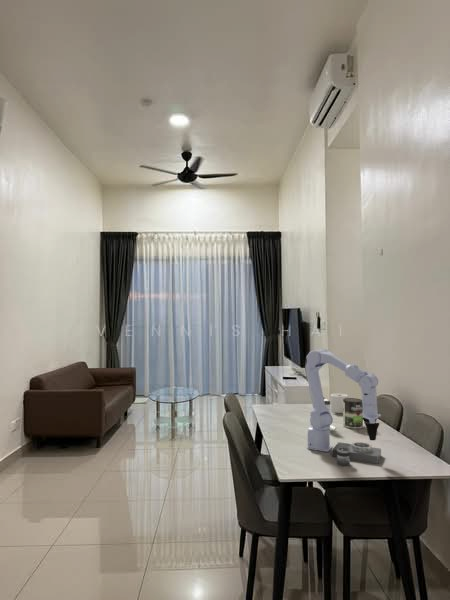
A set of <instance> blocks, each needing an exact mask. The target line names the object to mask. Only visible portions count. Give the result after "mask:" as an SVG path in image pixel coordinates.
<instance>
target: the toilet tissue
mask: <svg viewBox="0 0 450 600" xmlns="http://www.w3.org/2000/svg"><path fill="white" fill-rule="evenodd" d="M345 398H349V395H348V394H346V393H331V394H330V409H331V413H333V414H343V399H345Z"/></svg>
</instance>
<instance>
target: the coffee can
mask: <svg viewBox="0 0 450 600" xmlns="http://www.w3.org/2000/svg"><path fill="white" fill-rule="evenodd" d="M342 418H343V420H342V421H343V422H342V423H343V424H342V425H343V427H345V428H349V429H353V430H354V429H355V430H358V429H362V428H364V423H363V422H364V420H363V405H362V398H361V399H360V398H354V397H348V398H345V399H343V413H342Z"/></svg>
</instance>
